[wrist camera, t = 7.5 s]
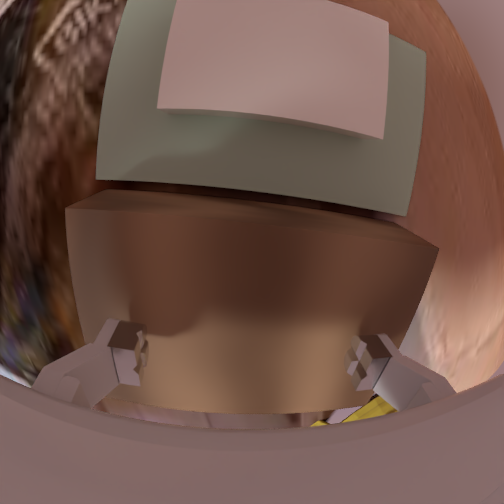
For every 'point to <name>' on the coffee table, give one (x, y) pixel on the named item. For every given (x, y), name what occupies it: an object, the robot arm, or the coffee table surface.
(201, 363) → the wooden block
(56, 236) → the coffee table surface
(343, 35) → the tile
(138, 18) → the mat
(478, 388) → the robot arm
